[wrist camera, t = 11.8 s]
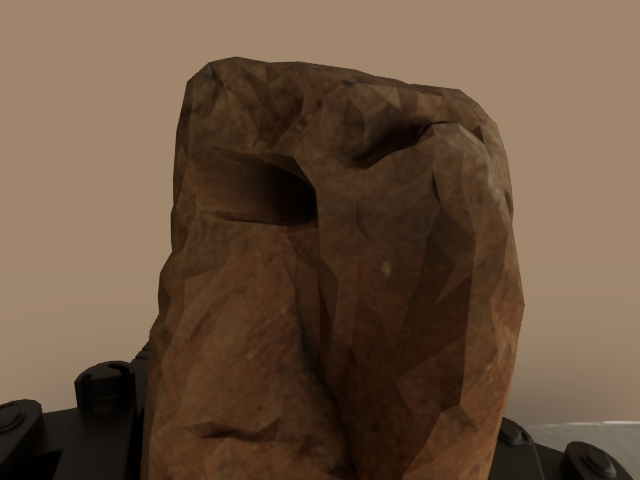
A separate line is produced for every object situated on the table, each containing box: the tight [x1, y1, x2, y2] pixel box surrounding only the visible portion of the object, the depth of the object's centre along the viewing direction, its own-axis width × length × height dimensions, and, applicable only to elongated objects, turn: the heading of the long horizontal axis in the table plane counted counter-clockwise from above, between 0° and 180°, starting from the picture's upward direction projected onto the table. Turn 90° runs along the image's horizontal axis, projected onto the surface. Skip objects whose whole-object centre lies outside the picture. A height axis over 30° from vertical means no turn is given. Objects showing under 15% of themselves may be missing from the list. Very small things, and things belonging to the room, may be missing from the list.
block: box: [141, 57, 525, 480], centre depth 11 cm, size 11×8×20 cm
